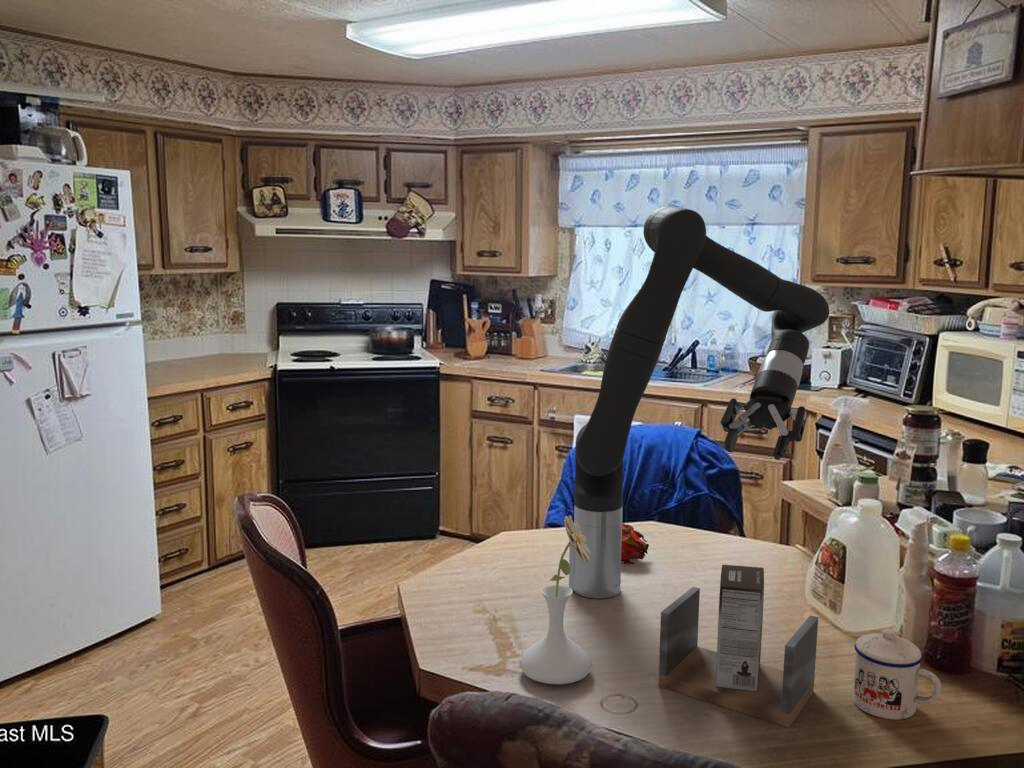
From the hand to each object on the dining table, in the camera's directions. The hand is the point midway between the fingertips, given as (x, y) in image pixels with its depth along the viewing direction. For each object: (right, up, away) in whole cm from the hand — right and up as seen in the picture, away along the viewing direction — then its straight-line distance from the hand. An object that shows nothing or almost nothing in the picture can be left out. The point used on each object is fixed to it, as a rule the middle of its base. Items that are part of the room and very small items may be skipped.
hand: (752, 453), depth 152 cm
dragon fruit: (-18, -26, +33) cm, 46 cm away
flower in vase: (-35, -33, -15) cm, 51 cm away
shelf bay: (-8, -34, -20) cm, 41 cm away
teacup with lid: (+14, -35, -25) cm, 46 cm away
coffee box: (-8, -32, -20) cm, 39 cm away
